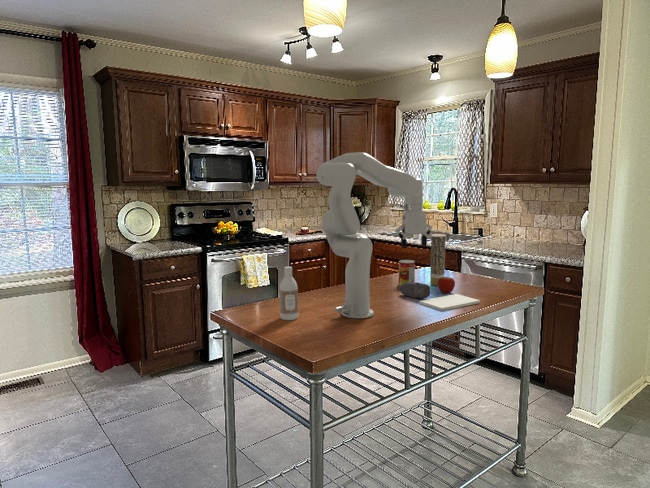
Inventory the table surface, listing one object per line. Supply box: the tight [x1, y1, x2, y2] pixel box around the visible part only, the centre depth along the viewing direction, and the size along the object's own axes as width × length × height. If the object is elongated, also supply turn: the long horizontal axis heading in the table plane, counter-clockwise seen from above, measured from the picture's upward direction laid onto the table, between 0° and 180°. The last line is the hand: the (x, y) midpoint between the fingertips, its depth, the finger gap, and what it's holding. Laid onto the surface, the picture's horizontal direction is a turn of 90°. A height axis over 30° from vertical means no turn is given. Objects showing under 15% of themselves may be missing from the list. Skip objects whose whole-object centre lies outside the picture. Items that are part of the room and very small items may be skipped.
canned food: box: [398, 259, 416, 287], centre depth 228 cm, size 8×8×12 cm
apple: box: [437, 276, 456, 294], centre depth 212 cm, size 8×8×8 cm
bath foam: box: [278, 266, 299, 321], centre depth 175 cm, size 7×7×20 cm
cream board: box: [419, 293, 481, 312], centre depth 195 cm, size 22×13×1 cm, turn 121°
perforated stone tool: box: [399, 282, 431, 300], centre depth 205 cm, size 15×5×7 cm, turn 42°
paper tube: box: [429, 233, 447, 287], centre depth 227 cm, size 7×7×25 cm
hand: (414, 246), depth 200 cm, fingers open, 9 cm apart
